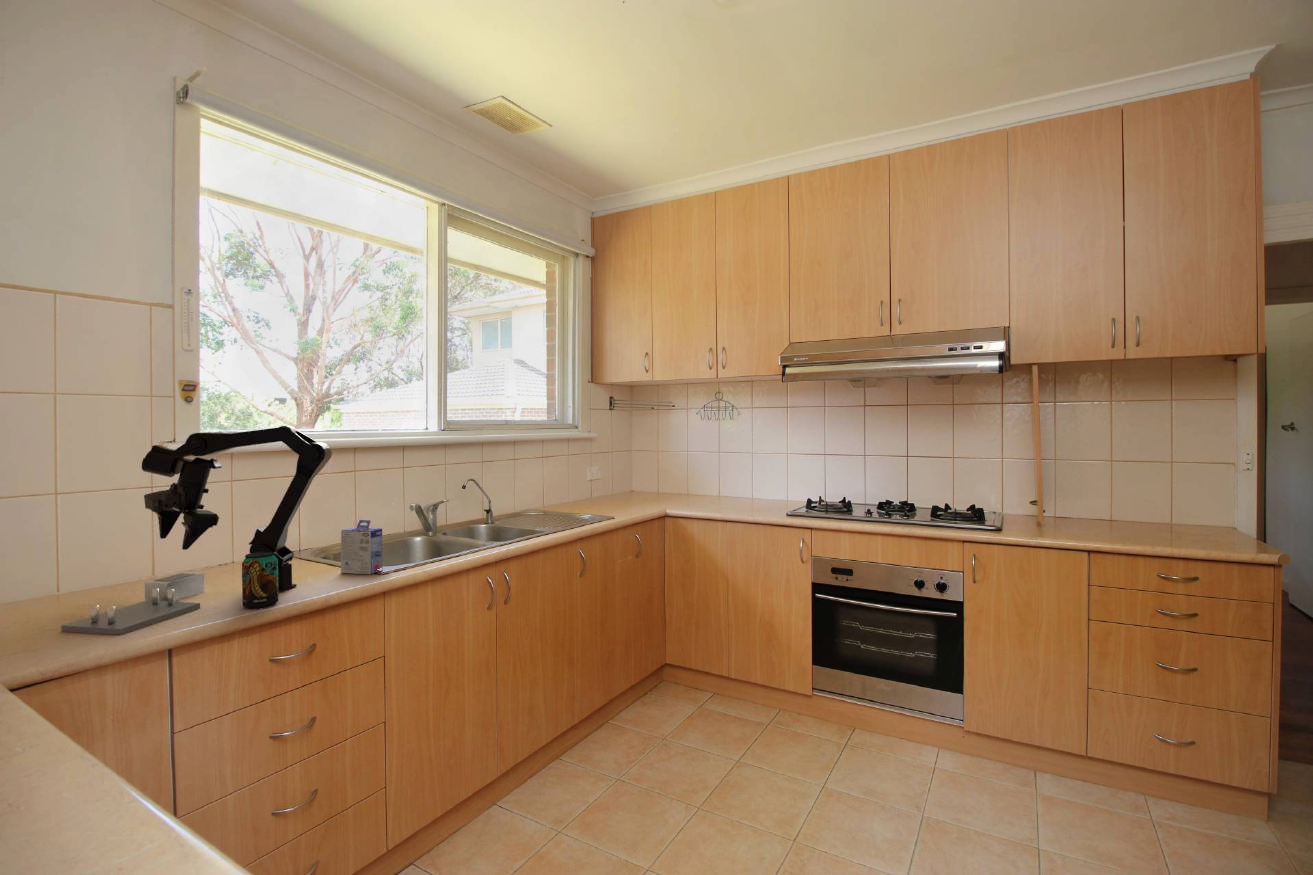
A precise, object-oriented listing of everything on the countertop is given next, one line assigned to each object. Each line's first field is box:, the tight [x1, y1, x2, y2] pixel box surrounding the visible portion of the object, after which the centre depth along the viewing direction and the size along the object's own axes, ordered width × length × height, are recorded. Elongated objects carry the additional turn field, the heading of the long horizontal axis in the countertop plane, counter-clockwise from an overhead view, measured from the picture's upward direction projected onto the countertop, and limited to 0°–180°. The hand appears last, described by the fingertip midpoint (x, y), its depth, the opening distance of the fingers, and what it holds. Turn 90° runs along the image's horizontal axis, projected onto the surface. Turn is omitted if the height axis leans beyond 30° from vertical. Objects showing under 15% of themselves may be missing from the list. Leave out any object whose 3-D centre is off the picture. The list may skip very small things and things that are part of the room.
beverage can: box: [241, 552, 280, 610], centre depth 143 cm, size 7×7×12 cm
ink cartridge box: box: [340, 519, 383, 575], centre depth 175 cm, size 10×6×14 cm, turn 78°
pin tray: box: [60, 588, 201, 635], centre depth 133 cm, size 14×18×5 cm
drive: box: [144, 571, 205, 602], centre depth 150 cm, size 6×10×5 cm, turn 172°
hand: (173, 543), depth 152 cm, fingers open, 9 cm apart
